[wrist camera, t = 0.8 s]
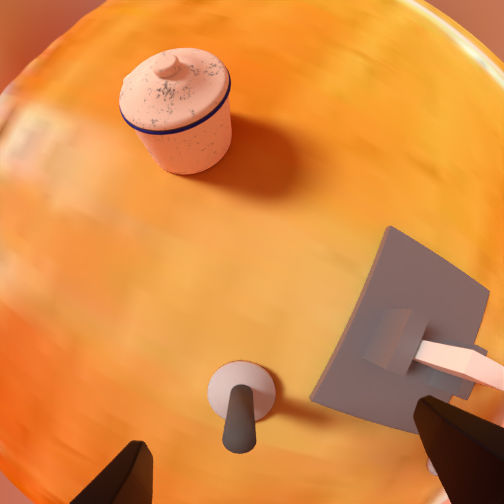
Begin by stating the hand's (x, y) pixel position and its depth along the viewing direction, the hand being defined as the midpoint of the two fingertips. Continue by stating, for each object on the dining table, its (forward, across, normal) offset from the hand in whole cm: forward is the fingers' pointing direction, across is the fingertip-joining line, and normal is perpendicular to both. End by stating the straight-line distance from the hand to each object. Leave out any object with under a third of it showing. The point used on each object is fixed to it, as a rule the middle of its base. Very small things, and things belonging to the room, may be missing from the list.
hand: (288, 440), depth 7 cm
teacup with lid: (+25, +6, -13) cm, 29 cm away
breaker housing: (+15, -16, +9) cm, 24 cm away
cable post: (+15, +2, +11) cm, 19 cm away
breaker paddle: (+14, -15, +10) cm, 22 cm away
